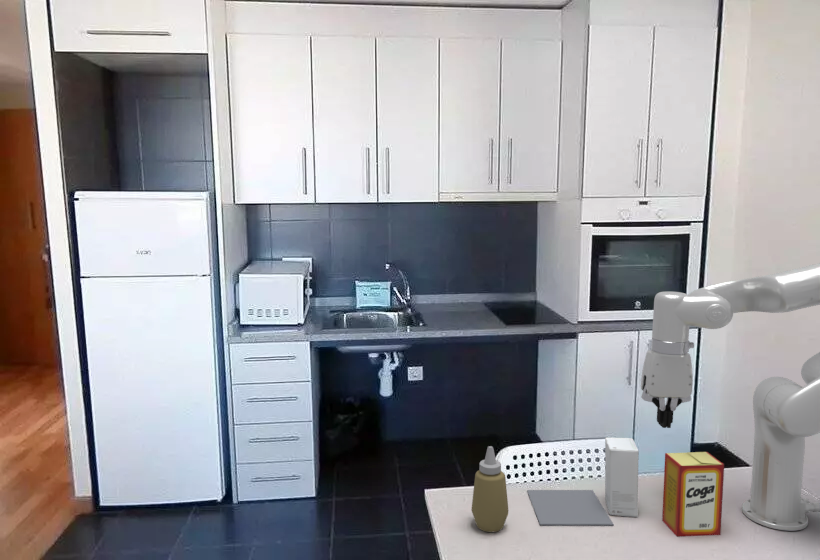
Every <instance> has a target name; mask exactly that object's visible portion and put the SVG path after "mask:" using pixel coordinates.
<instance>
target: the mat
mask: <svg viewBox="0 0 820 560" xmlns="http://www.w3.org/2000/svg"><path fill="white" fill-rule="evenodd" d="M526 492H527V495H528V498H529V501H530V503H531V505H532V506H531V507H532V508H533V511H534V513H535V516H536V518H537V522H538V524H539V526H540V527H545V526H546V527H615V526H614V525H615V524H614V523H613V521H612V519H611V517H610V516H609V513H608V512H607V511H606V509H605V508H604V506H603V504H602V503H601V501H600V500H599V497H597V495H596V493H595V492H594V489H527V490H526Z"/></svg>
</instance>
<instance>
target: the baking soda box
mask: <svg viewBox="0 0 820 560" xmlns="http://www.w3.org/2000/svg"><path fill="white" fill-rule="evenodd" d="M663 474H664V476H663V492H662V493H663V495H662V496H663V497H662V516H661V517H662V518H661V522H663V523H664V524H665V525H666V527H668V529H669V530H670V531H671V532H672V533H673V534H674V535H675V537H679V538H680V537H700V536H702V537H705V536H721V530H722V529H721V528H722V514H723V511H722V510H723V497H724V496H723V495H724V494H723V493H724V477H725V463H724V462H721V461H720V460H719V459H717V458H716V457H715V456H714V455H712V454H711V453H709V452H708V451H695V452H693V451H692V452H665V453H664V472H663Z"/></svg>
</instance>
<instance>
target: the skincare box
mask: <svg viewBox="0 0 820 560" xmlns="http://www.w3.org/2000/svg"><path fill="white" fill-rule="evenodd" d="M604 438H605V439H604V440H605V441H604V443H605V445H604V448H605V449H604V457H605V458H604V460H605V462H604V465H605V466H604V467H605V469H604V470H605V471H604V476H605V477H604V479H605V480H604V483H605V486H604V500H605V504H606V508H607V511H608V512H607V513H608V515H610V516H616V517H617V516H618V517H629V518H630V517H631V518H636V517H637V518H638V517H639V513H638V512H639V452H640V451H639V449H638V447H637V444H636V442H635V440H634V439H633V438H631V437H604Z"/></svg>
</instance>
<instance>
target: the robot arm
mask: <svg viewBox="0 0 820 560" xmlns="http://www.w3.org/2000/svg"><path fill="white" fill-rule="evenodd" d="M819 305H820V262H819V263H815V264H810V265H805V266H802V267H798V268H794V269H790V270H786V271H782V272H781V271H780V272H776V273H772V274H766V275H760V276H755V277H749V278H742V279H737V280H736V279H735V280H730V281H726V282H720V283H717V284H713V285H712V284H711V285H708V286H705V287H700V288H697V289H694V290H692V291H691V292H690V293H688V294H687V293H684V292H681V291H660V292H658V293H656V294H655V296H654V300H653V315H652V316H653V317H652V330H651V331H652V333H651V346H650V347H651V348H650V350H647V351H646V354H645V358H644V361H643V366H642V372H641V379H640V389H641V391H642V394H641V400H643V401H645V402H648V403H652V404H653V405H654V406H655V407H656V411H657V412H656V422H657V424H658V425H659V426H661V428H662V429H663V428H664V429H666V428H667V429H671V426H672V424H673V421H674V412H676V409H677V408H678V407H679V406H680V405H681V404H684V403H687V402H691V400H692V398H691V397H692V396H691V395H692V393H693V382H694V379H693V377H694V376H693V364H692V363H693V362H692V357H691V354H690V353H689V350H690V349H694V348H695V343H694V342H692V341H690V340H689V339H690V338H689V336H690V327H696V328H702V329H708V330H718V329H722V328H725V327H726V326H727V325H728V324H730V322H731V321H732V320H733V317H734V314H737V313H738V314H739V313H746V312H747V313H748V312H757V313H758V312H761V313H768V314H780V313H781V314H782V313H790V312H793V311H797V310H801V309H806V308H810V307H814V306H819ZM800 374H801V377H802V380H803V382H804V383H805V385H804V386H801V385H800V384H799V383H797V382H795V381H793V380H791V379H788V378H786V377H783V376H771V377H767V378H764V379H763V380H762V381H760V382H759V383H758V385H756V387H755V389H754V392H753V397H752V409H753V419H754V420H753V421H754V435H753V436H754V437H753V452H752V453H753V454H752V469H751V483H750V484H751V486H750V498H749V499H747V500H745V501H743V502H742V504H741V511H742V513H743V514H744V516H746V517H747V518H748V519H749V520H751V521H752V522H754V523H757V524H758V525H762V526H764V527H767V528H770V529H775V530H779V531H786V532H787V531H791V532H792V531H800V530H803V529H805V528H807V527H808V524H809V518H808V516H807V514H809V513H810V512H812V513H820V502H810V500H809V498H802V491H803V490H802V488H803V477H804V476H803V474H804V462H805V461H804V459H805V451H806V450H805V449H806V438H807V437H812V436H815V435H818V434H819V433H820V351H819V352H817V353H816V354H813V355H812V356H811V357H809V358H807V360H805V362H804V363H803V364H802V367H801V369H800ZM665 398H666V399H665Z"/></svg>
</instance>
